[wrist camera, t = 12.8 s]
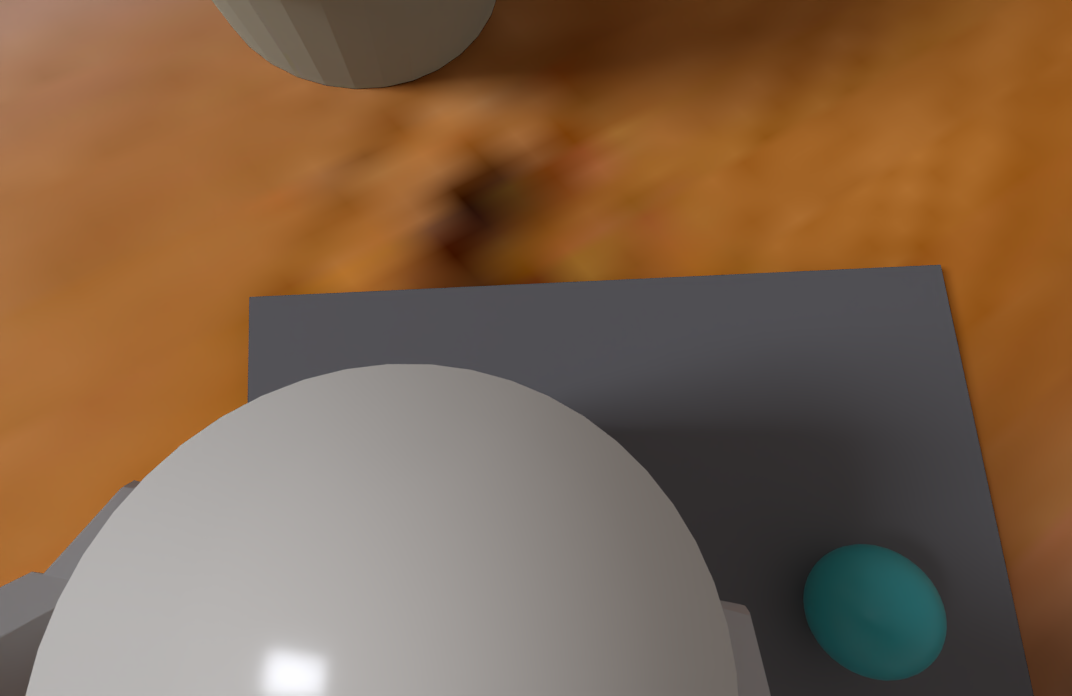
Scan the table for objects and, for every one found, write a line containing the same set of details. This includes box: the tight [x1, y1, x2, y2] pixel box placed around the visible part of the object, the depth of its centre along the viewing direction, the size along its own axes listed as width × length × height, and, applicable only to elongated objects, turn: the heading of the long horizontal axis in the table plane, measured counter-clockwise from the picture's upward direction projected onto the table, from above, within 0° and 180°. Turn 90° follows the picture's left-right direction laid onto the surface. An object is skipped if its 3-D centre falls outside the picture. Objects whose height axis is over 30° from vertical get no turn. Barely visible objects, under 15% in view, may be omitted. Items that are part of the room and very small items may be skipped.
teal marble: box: [803, 544, 947, 681], centre depth 15 cm, size 3×3×3 cm
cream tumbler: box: [25, 364, 738, 696], centre depth 10 cm, size 6×6×9 cm
